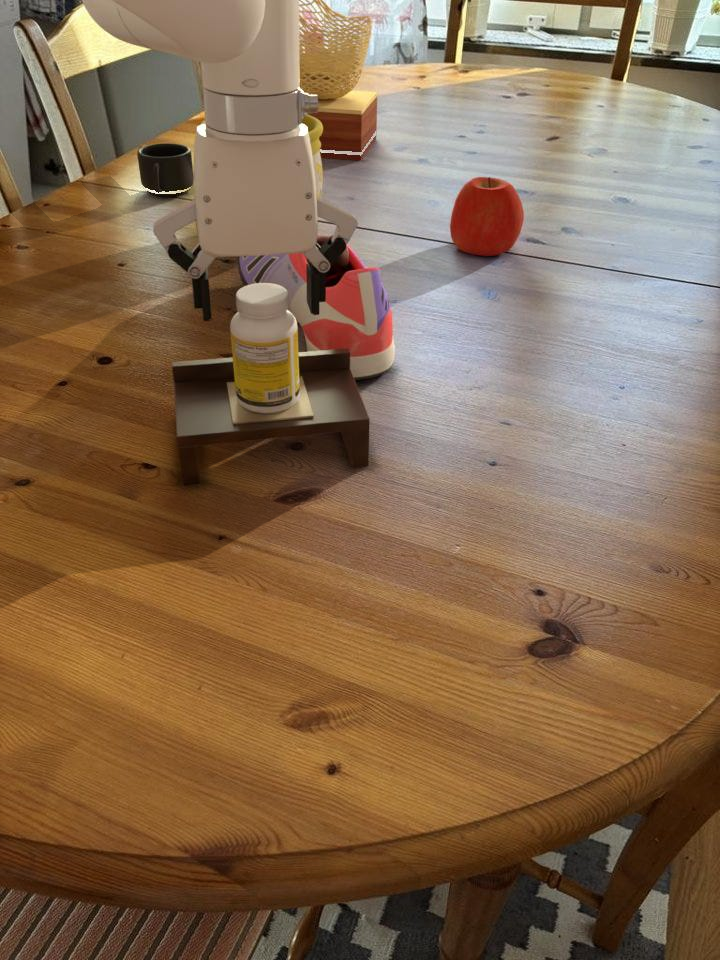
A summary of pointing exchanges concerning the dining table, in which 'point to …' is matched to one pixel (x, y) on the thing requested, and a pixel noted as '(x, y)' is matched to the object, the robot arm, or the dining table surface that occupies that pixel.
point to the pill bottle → (265, 349)
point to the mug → (166, 168)
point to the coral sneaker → (334, 306)
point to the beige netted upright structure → (338, 82)
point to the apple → (486, 217)
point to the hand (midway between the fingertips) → (260, 311)
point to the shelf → (221, 419)
